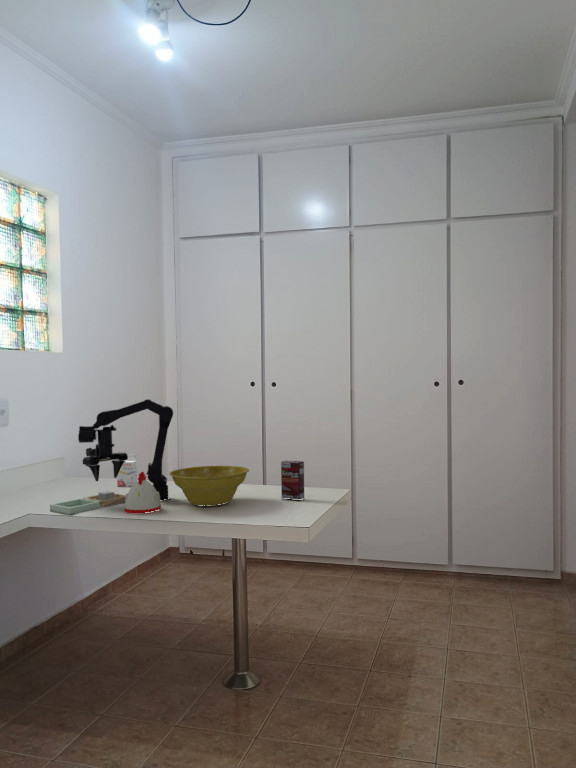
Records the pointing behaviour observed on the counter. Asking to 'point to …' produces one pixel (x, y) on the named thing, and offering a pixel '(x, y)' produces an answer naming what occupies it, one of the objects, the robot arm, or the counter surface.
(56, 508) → the green bin
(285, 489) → the supplement box
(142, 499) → the kitchen timer
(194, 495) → the planter bowl
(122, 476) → the ink cartridge box
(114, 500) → the oak tray
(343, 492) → the counter surface
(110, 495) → the grey cube
